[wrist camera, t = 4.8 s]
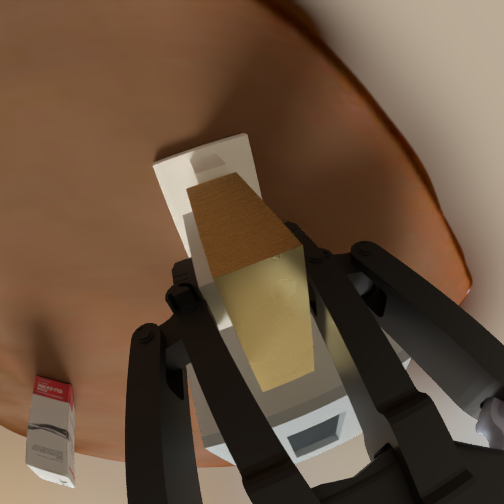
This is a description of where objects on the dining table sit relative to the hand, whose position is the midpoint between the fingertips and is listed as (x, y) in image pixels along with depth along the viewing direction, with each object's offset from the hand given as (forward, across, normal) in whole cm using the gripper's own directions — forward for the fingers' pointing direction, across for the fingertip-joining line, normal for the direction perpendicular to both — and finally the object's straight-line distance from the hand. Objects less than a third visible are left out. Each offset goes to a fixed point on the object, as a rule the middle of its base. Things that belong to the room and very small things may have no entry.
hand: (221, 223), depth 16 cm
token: (-2, 0, 0) cm, 2 cm away
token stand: (+3, 0, 0) cm, 3 cm away
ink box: (+3, -27, -15) cm, 31 cm away
